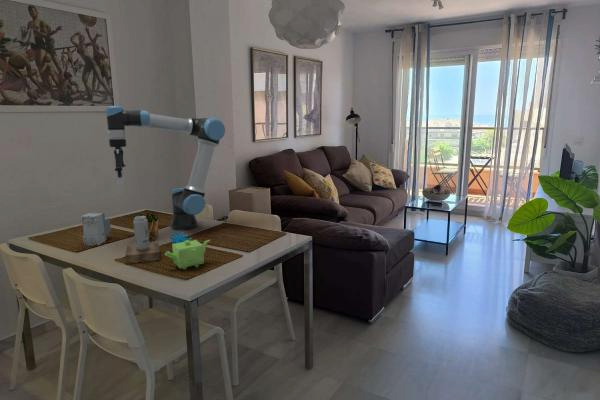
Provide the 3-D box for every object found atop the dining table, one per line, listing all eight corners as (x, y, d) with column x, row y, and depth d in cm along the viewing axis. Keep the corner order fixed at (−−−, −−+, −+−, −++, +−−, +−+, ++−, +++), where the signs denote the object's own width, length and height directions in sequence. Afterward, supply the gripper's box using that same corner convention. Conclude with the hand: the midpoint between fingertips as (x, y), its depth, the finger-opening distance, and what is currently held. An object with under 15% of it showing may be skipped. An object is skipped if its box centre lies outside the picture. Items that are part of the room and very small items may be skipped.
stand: (159, 250, 196) (158, 242, 196) (160, 260, 184) (159, 251, 183) (127, 254, 192) (127, 246, 191) (126, 264, 179) (125, 255, 178)
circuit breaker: (113, 237, 219) (110, 210, 216) (98, 245, 205) (94, 216, 202) (100, 237, 220) (97, 209, 217) (83, 245, 206) (80, 216, 203)
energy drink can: (146, 251, 184) (143, 218, 181) (133, 251, 184) (130, 218, 181) (152, 246, 190) (149, 215, 187) (139, 246, 190) (136, 215, 187)
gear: (174, 249, 194) (168, 231, 198) (170, 255, 197) (164, 238, 201) (195, 247, 201) (189, 230, 206) (190, 253, 205) (184, 236, 209)
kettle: (211, 261, 182) (210, 237, 180) (198, 273, 169) (197, 247, 166) (180, 259, 185) (179, 235, 183) (165, 270, 171) (163, 245, 169)
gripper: (111, 137, 208) (115, 178, 213) (106, 140, 185) (111, 186, 190) (126, 137, 211) (130, 177, 215) (124, 139, 188) (128, 185, 192)
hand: (121, 181), depth 202 cm, fingers open, 13 cm apart
